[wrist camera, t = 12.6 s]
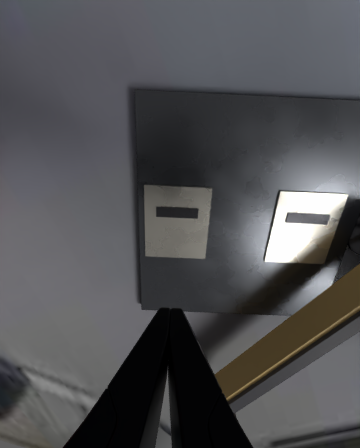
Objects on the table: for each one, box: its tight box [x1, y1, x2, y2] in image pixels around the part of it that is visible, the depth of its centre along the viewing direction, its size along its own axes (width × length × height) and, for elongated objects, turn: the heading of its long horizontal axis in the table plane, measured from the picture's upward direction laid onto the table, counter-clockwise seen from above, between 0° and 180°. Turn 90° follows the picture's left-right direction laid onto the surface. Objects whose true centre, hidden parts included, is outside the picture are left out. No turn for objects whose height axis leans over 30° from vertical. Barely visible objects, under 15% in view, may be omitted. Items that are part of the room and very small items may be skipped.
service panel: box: [135, 90, 360, 316], centre depth 17 cm, size 22×18×1 cm
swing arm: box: [214, 264, 360, 416], centre depth 18 cm, size 23×4×4 cm, turn 142°
